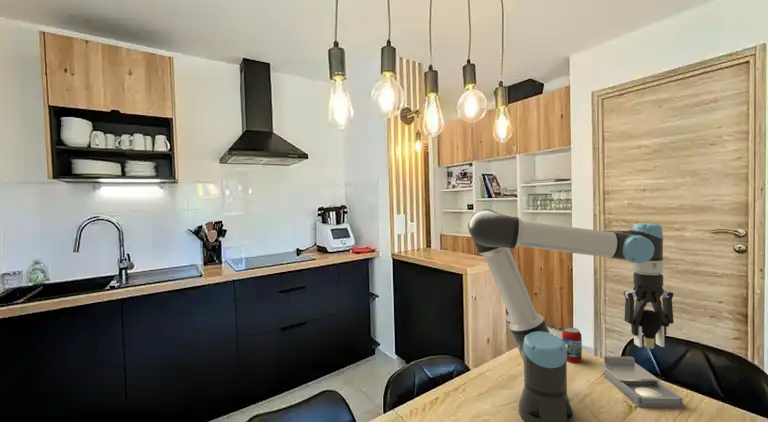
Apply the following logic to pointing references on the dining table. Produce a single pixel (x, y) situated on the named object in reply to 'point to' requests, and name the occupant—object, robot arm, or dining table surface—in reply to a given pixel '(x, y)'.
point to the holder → (647, 393)
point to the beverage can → (572, 344)
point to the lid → (627, 369)
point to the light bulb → (650, 326)
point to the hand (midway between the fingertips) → (649, 345)
